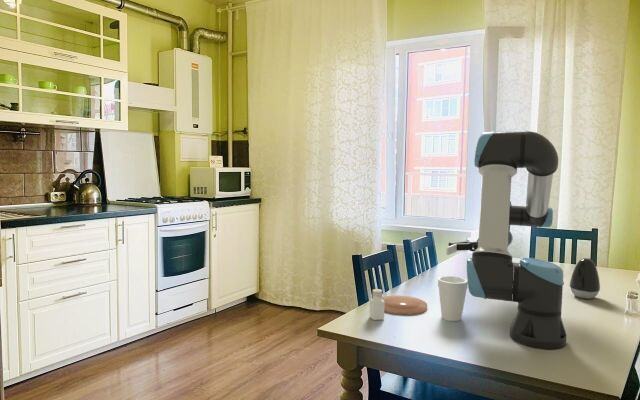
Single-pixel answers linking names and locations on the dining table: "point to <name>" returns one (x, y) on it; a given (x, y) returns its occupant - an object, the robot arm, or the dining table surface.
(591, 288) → the dark grey egg shape
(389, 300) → the terracotta plate
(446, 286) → the foam cup
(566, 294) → the dining table surface
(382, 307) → the pepper shaker
